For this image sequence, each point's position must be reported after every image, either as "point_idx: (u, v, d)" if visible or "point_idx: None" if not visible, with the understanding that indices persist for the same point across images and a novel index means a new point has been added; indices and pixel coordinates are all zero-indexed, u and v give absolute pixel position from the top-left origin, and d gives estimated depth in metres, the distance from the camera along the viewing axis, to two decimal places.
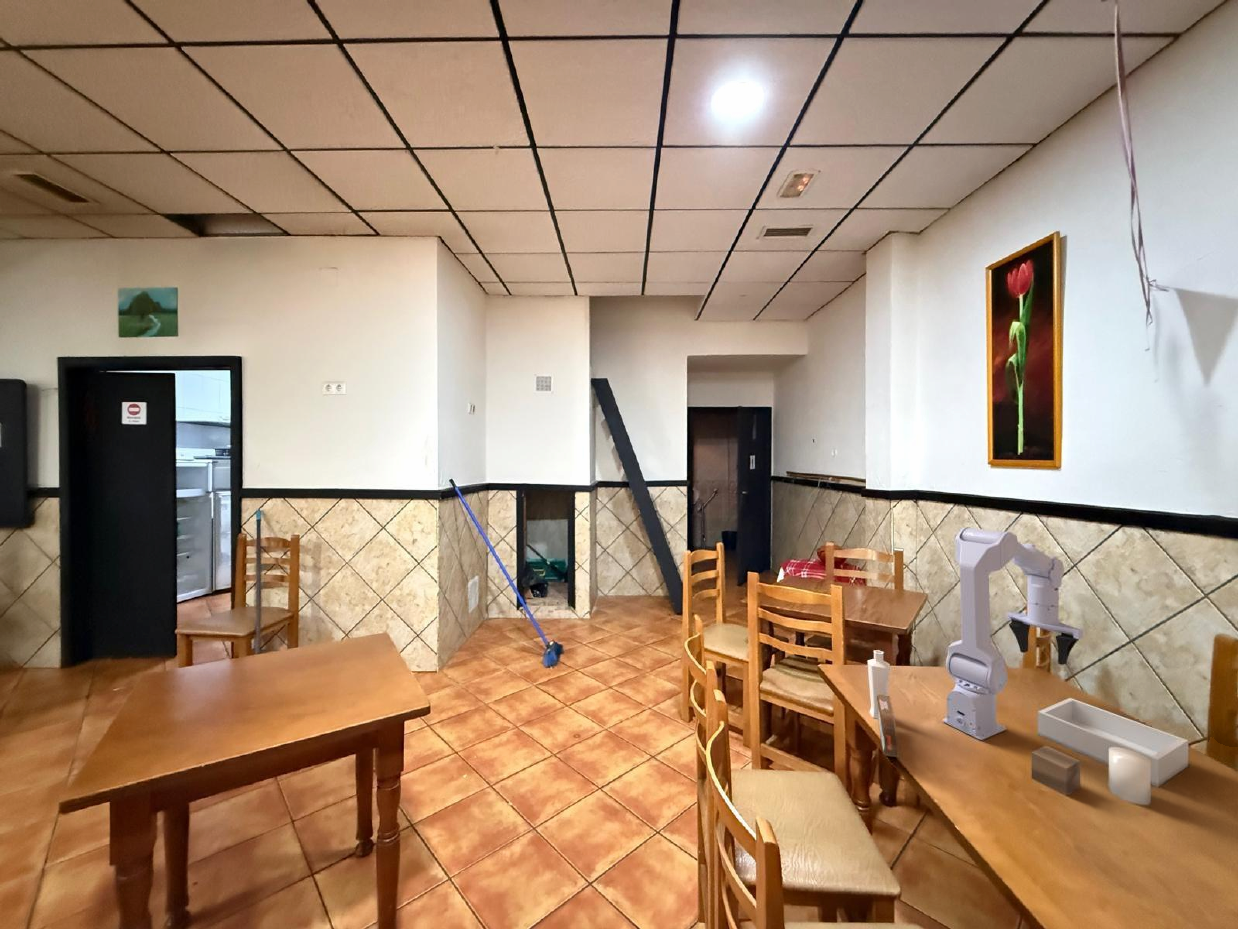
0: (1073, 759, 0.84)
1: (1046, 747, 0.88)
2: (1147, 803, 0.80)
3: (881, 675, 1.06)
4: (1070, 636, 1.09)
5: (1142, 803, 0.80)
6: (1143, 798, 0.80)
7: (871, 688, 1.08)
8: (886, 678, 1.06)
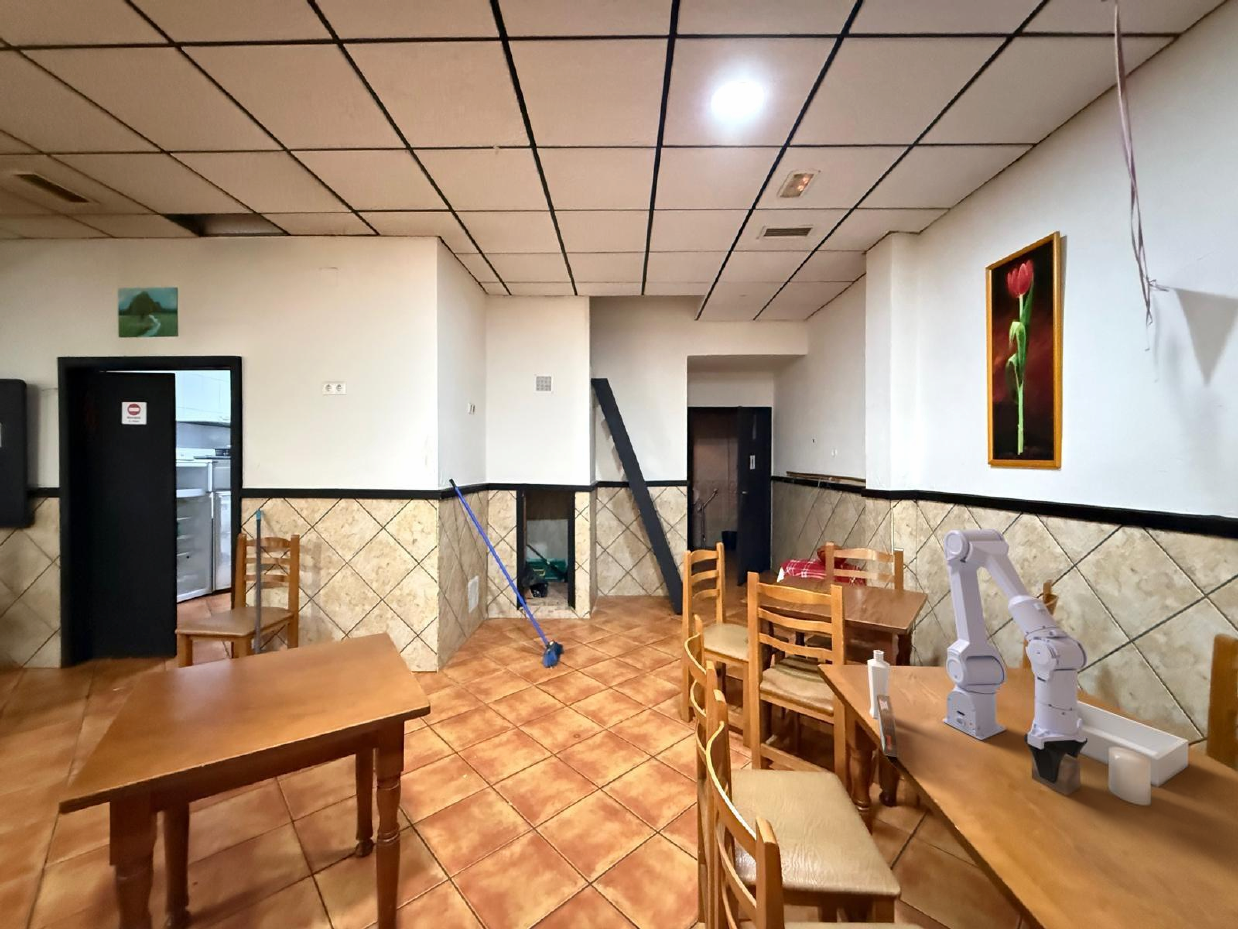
0: (1073, 758, 0.84)
1: None
2: (1147, 803, 0.80)
3: (881, 675, 1.06)
4: None
5: (1142, 803, 0.80)
6: (1143, 798, 0.80)
7: (871, 688, 1.08)
8: (886, 678, 1.06)
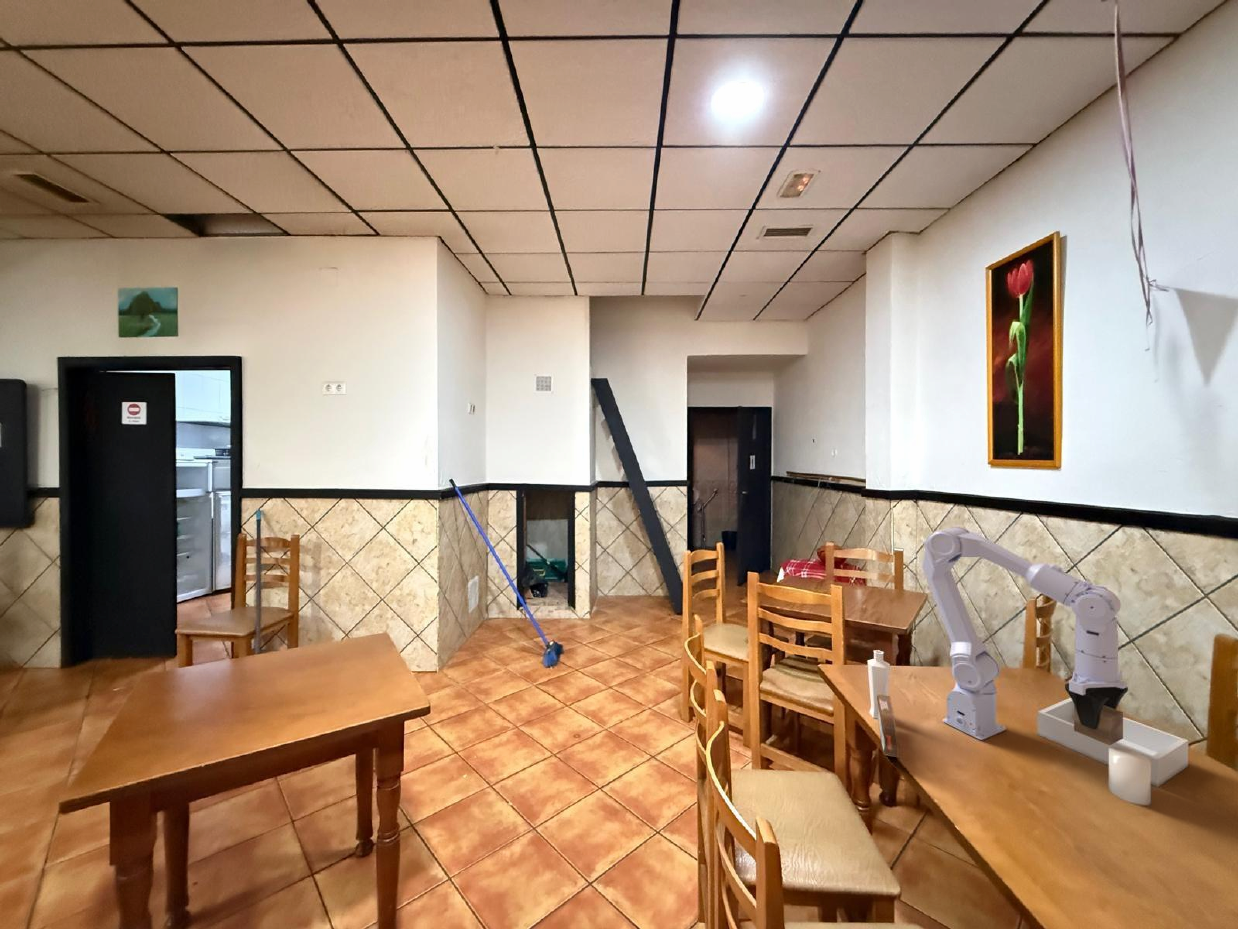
0: (1116, 710, 0.87)
1: None
2: (1147, 803, 0.80)
3: (881, 675, 1.06)
4: None
5: (1142, 803, 0.80)
6: (1143, 798, 0.80)
7: (871, 688, 1.08)
8: (886, 678, 1.06)
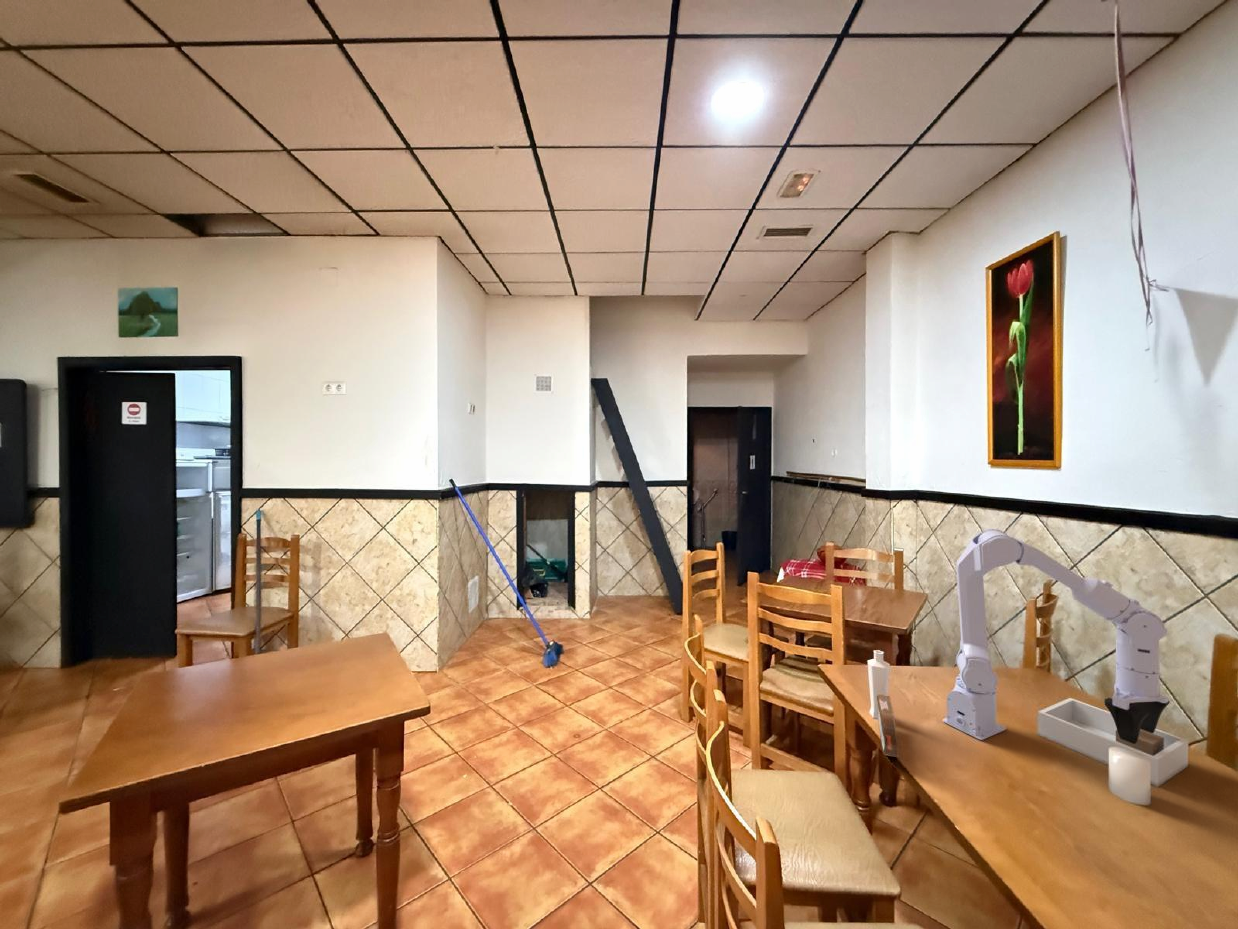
0: (1157, 736, 0.90)
1: None
2: (1147, 803, 0.80)
3: (881, 675, 1.06)
4: None
5: (1142, 803, 0.80)
6: (1143, 798, 0.80)
7: (871, 688, 1.08)
8: (886, 678, 1.06)
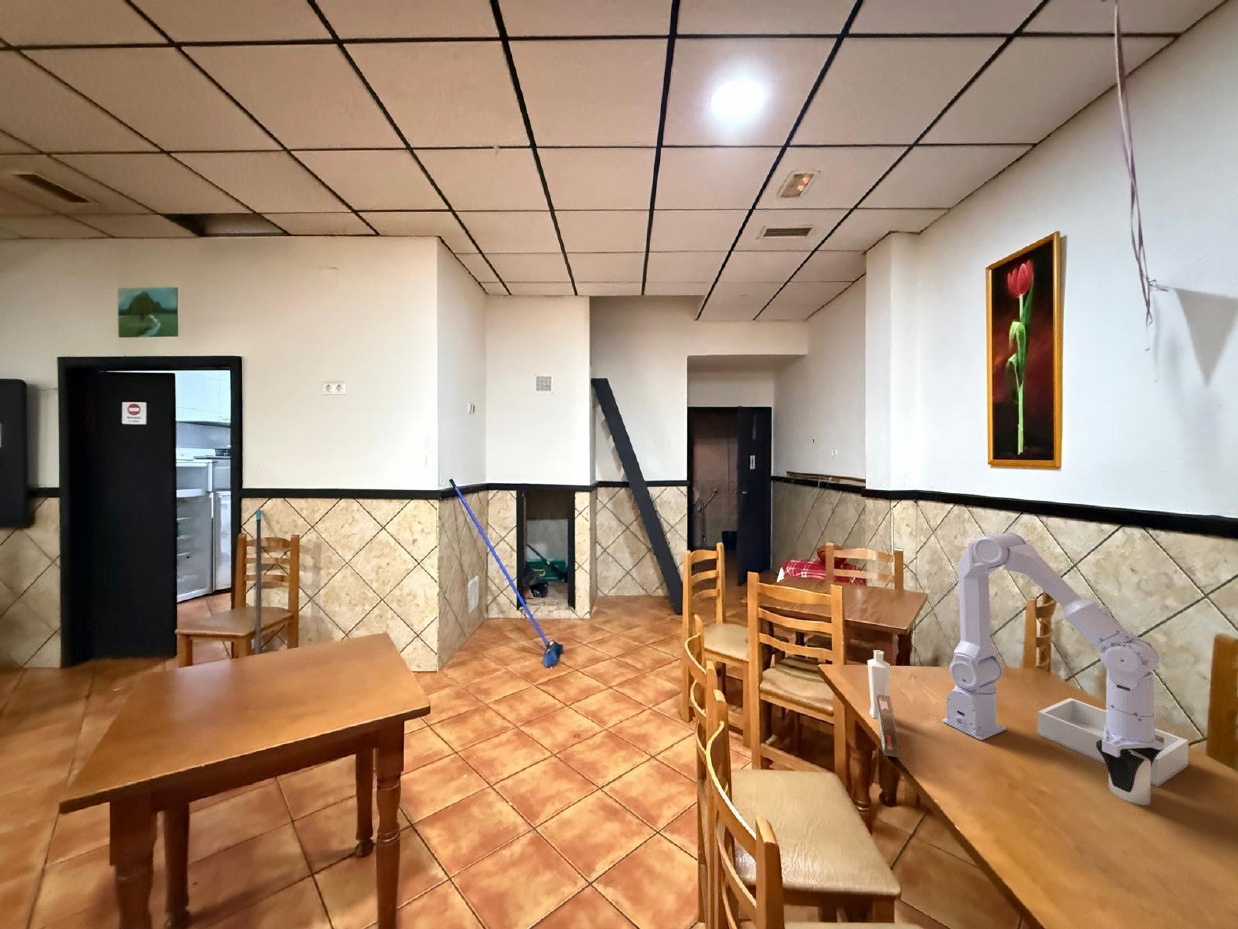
0: (1157, 736, 0.90)
1: None
2: (1147, 803, 0.80)
3: (881, 675, 1.06)
4: None
5: (1142, 803, 0.80)
6: (1143, 798, 0.80)
7: (871, 688, 1.08)
8: (886, 678, 1.06)
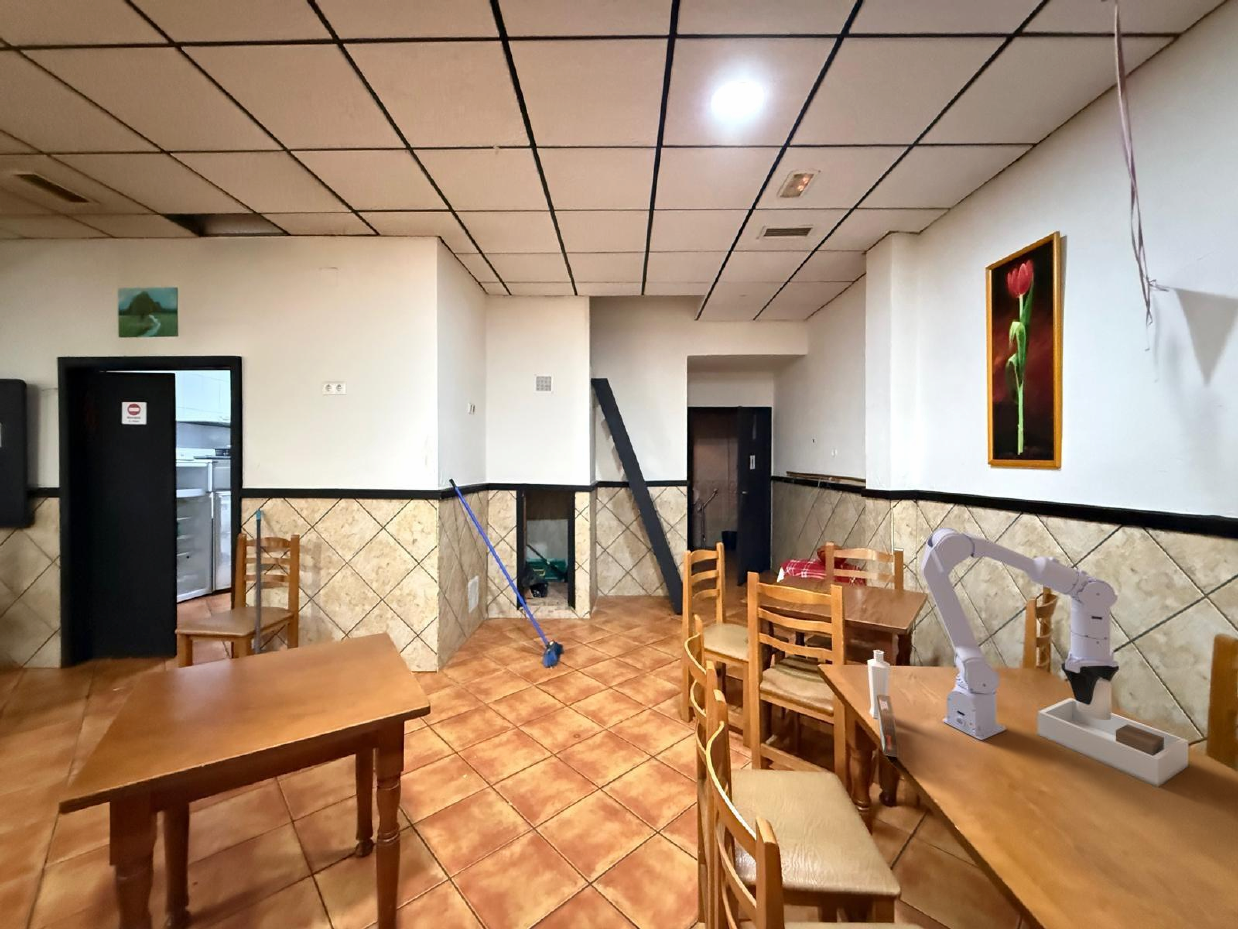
0: (1157, 736, 0.90)
1: (1128, 726, 0.93)
2: (1106, 718, 0.92)
3: (881, 675, 1.06)
4: None
5: (1100, 718, 0.93)
6: (1102, 713, 0.92)
7: (871, 688, 1.08)
8: (886, 678, 1.06)
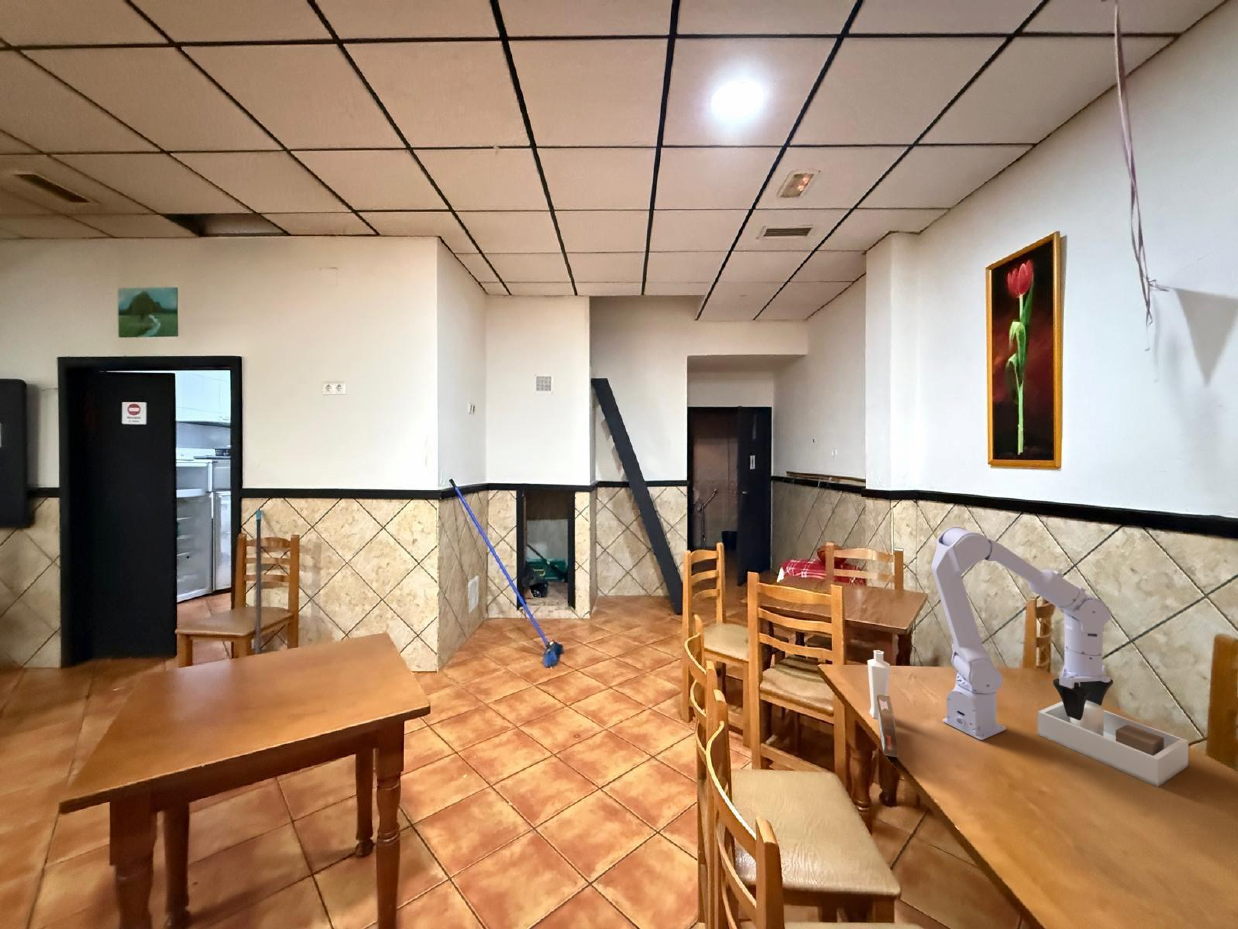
0: (1157, 736, 0.90)
1: (1128, 726, 0.93)
2: None
3: (881, 675, 1.06)
4: None
5: None
6: None
7: (871, 688, 1.08)
8: (886, 678, 1.06)
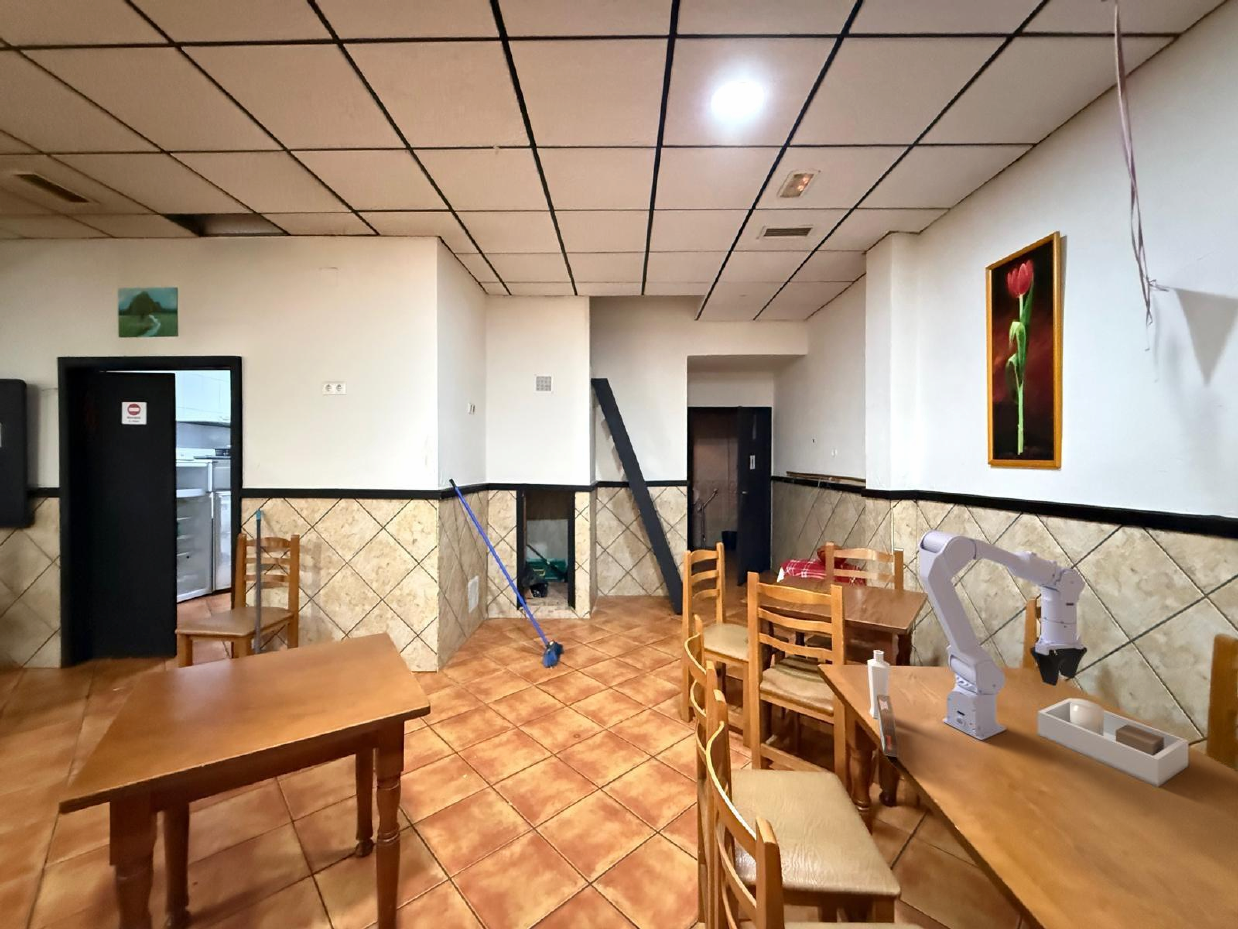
0: (1157, 736, 0.90)
1: (1128, 726, 0.93)
2: None
3: (881, 675, 1.06)
4: None
5: None
6: None
7: (871, 688, 1.08)
8: (886, 678, 1.06)
